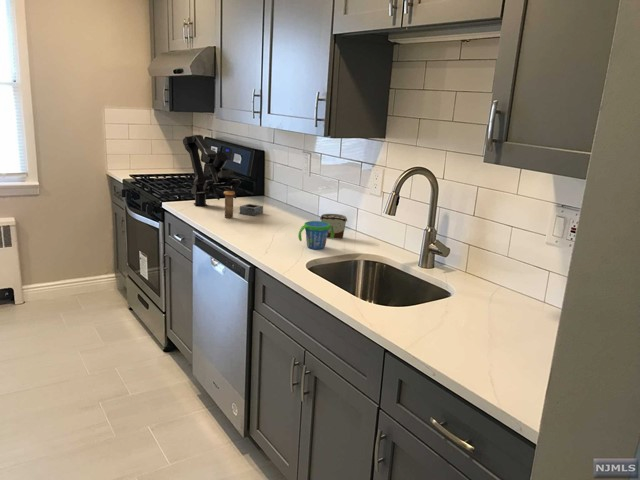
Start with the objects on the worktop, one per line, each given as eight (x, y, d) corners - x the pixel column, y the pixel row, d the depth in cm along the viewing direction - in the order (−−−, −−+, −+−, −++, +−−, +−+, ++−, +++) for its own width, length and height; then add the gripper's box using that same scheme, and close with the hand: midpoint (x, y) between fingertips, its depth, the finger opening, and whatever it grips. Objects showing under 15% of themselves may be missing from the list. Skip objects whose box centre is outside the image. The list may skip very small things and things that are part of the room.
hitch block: (239, 213, 262) (239, 206, 261) (248, 211, 270) (248, 203, 269) (254, 216, 259) (254, 208, 258) (262, 213, 267) (263, 205, 266)
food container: (346, 236, 232) (348, 214, 229) (346, 239, 226) (347, 217, 223) (320, 233, 233) (321, 212, 230) (318, 237, 227) (320, 215, 224)
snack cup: (301, 251, 203) (303, 227, 200) (294, 244, 212) (295, 221, 210) (337, 250, 208) (339, 226, 205) (328, 243, 218) (330, 220, 215)
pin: (222, 216, 254) (222, 190, 250) (232, 216, 256) (233, 190, 252) (224, 218, 249) (225, 192, 246) (235, 218, 251) (236, 192, 248)
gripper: (205, 164, 245) (215, 190, 240) (239, 163, 257) (250, 188, 251) (198, 178, 253) (208, 203, 248) (231, 176, 265) (241, 201, 259)
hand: (227, 198), depth 251 cm, fingers open, 9 cm apart
